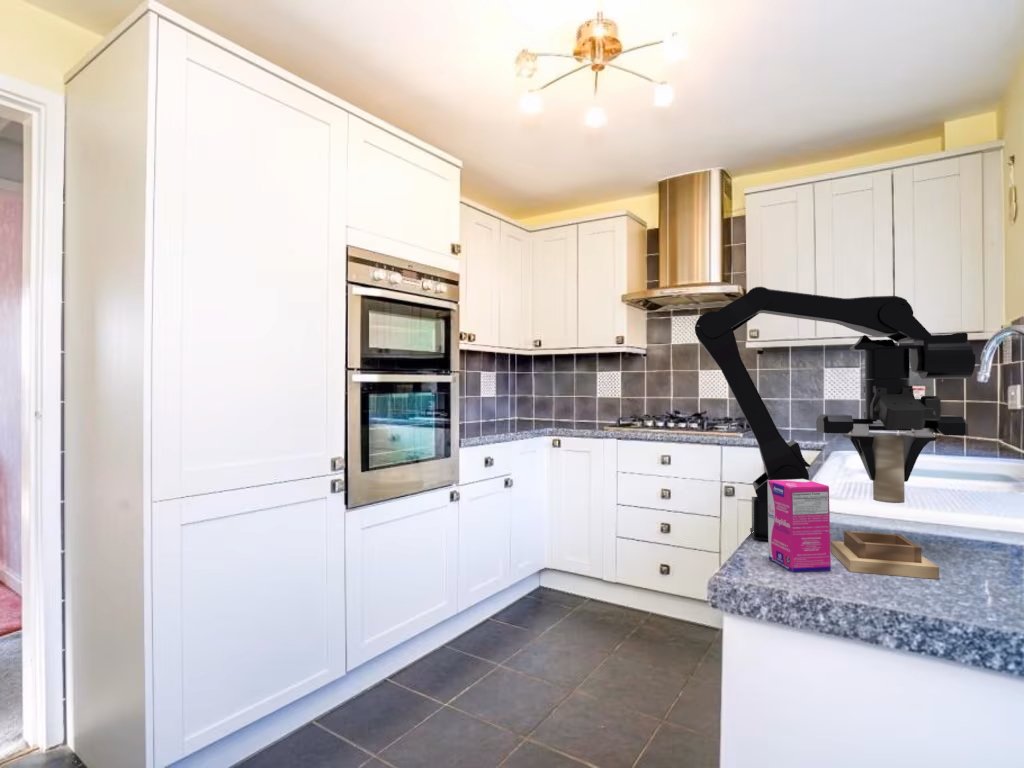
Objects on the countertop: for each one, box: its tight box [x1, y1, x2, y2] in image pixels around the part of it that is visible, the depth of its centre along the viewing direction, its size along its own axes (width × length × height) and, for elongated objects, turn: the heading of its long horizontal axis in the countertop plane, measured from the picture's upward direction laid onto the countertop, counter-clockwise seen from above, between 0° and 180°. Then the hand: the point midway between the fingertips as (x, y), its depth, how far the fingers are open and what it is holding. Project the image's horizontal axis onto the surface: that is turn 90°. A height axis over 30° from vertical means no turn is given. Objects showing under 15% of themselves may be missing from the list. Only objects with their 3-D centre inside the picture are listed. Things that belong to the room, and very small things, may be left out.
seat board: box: [830, 530, 940, 580], centre depth 77 cm, size 10×10×4 cm
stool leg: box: [871, 434, 906, 504], centre depth 85 cm, size 4×4×10 cm
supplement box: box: [767, 479, 832, 573], centre depth 76 cm, size 6×6×12 cm
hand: (888, 480), depth 85 cm, fingers closed on stool leg, 4 cm apart
